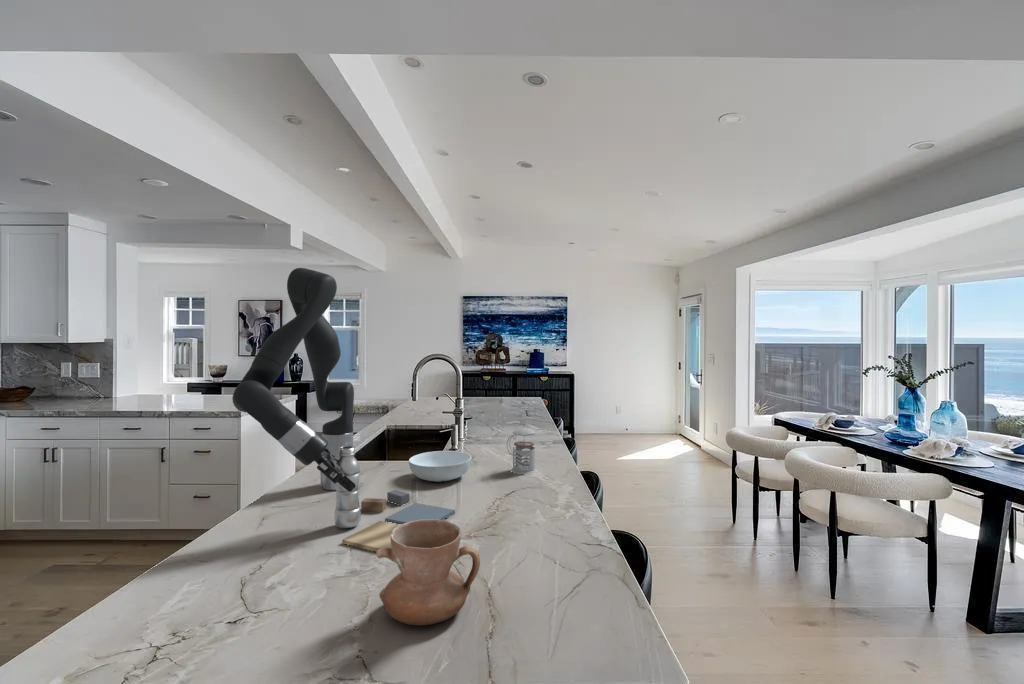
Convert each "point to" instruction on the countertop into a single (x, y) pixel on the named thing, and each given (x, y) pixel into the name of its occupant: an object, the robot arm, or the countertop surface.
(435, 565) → the ceramic jug
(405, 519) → the slate mat
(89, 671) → the countertop surface
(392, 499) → the charcoal brick
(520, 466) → the french press
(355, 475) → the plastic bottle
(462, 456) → the serving bowl
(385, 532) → the oak mat
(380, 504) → the walnut brick
